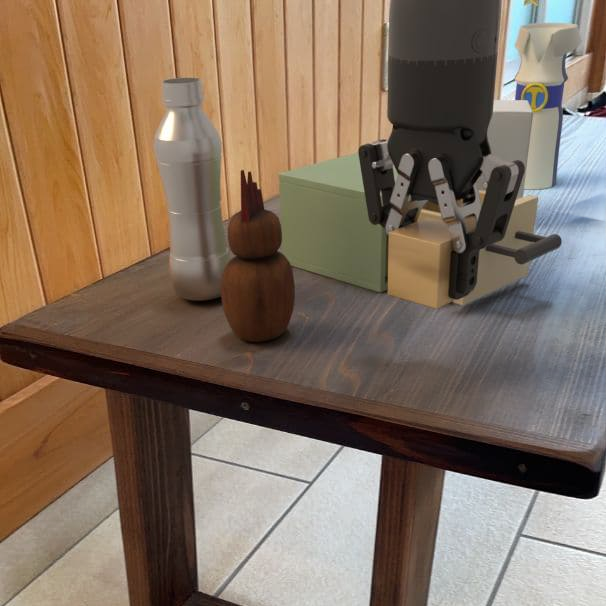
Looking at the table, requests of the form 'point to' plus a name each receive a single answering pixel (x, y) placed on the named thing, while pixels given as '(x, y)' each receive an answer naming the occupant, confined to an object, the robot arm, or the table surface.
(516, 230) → the drawer
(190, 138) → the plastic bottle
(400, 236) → the block
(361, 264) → the cabinet
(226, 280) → the wooden figurine
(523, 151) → the small box
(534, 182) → the spray bottle
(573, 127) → the table surface
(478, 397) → the table surface
